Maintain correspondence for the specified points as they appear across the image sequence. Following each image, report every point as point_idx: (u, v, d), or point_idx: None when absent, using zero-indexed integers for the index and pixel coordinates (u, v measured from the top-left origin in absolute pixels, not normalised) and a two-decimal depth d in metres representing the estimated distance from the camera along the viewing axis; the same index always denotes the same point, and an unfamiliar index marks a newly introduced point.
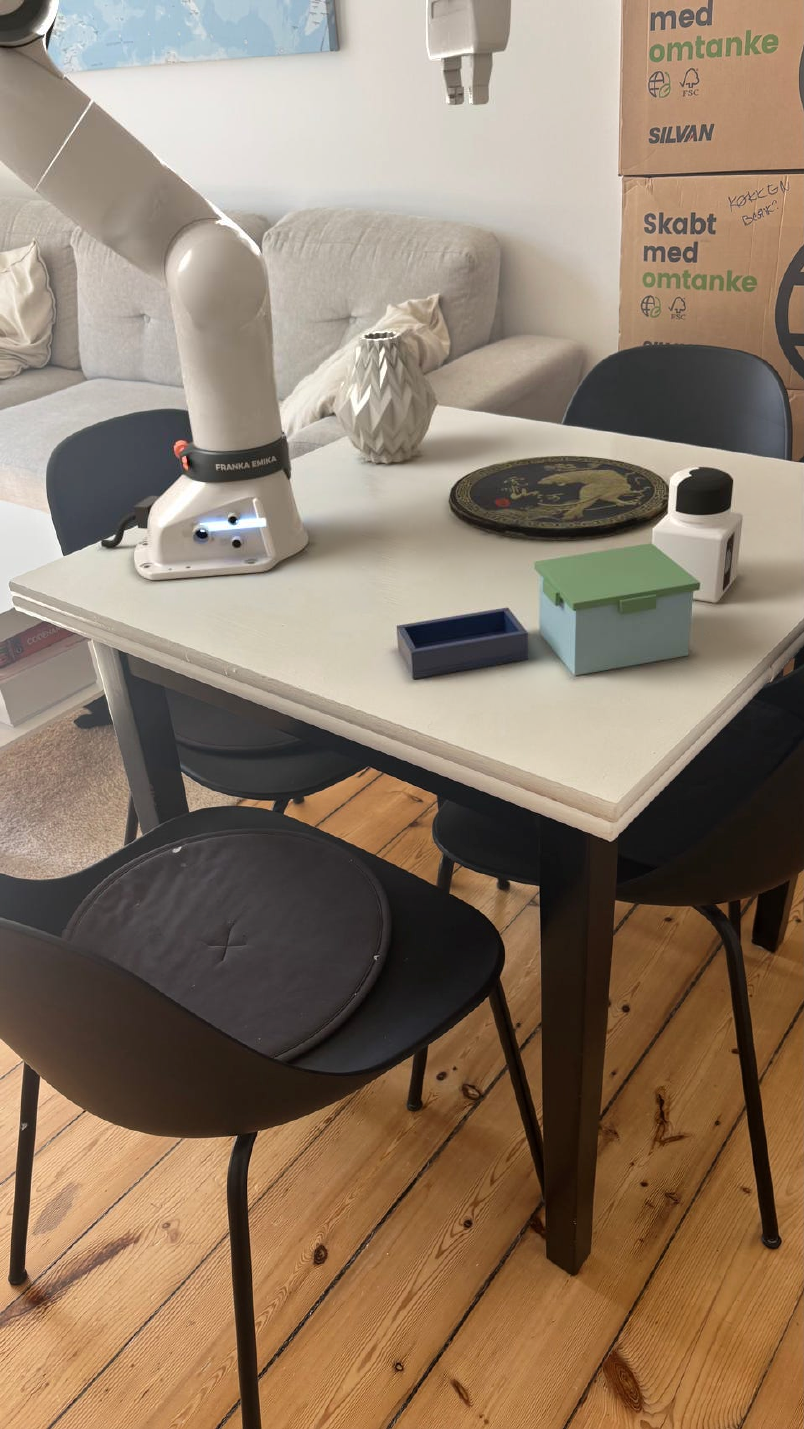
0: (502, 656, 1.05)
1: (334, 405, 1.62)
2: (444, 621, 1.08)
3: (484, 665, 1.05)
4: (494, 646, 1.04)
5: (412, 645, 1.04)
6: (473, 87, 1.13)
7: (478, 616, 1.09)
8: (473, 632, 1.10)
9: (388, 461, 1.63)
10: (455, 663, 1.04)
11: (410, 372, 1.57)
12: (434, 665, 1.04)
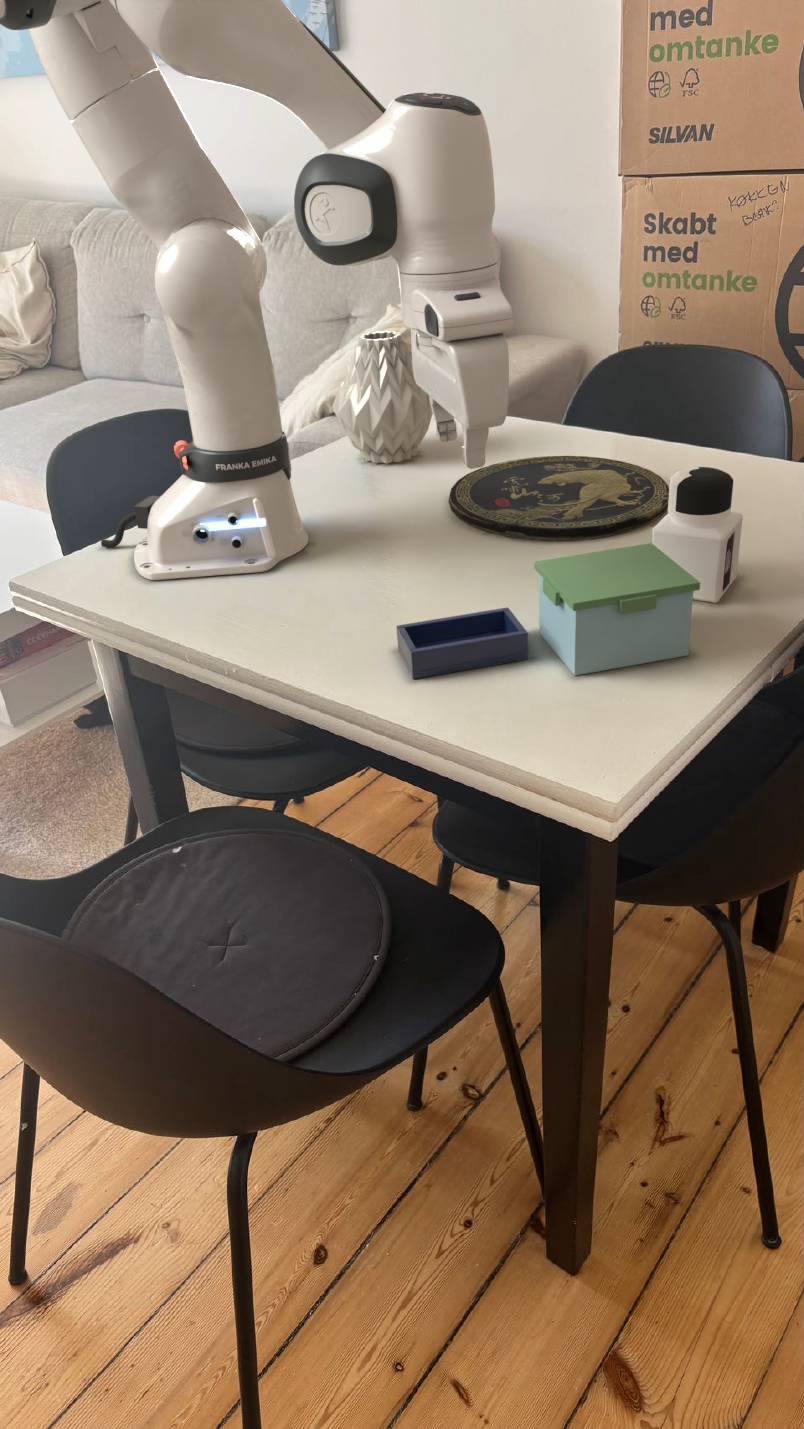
0: (502, 656, 1.05)
1: (334, 405, 1.62)
2: (444, 621, 1.08)
3: (484, 665, 1.05)
4: (494, 646, 1.04)
5: (412, 645, 1.04)
6: (466, 451, 0.96)
7: (478, 616, 1.09)
8: (473, 632, 1.10)
9: (388, 461, 1.63)
10: (455, 663, 1.04)
11: (410, 372, 1.57)
12: (434, 665, 1.04)
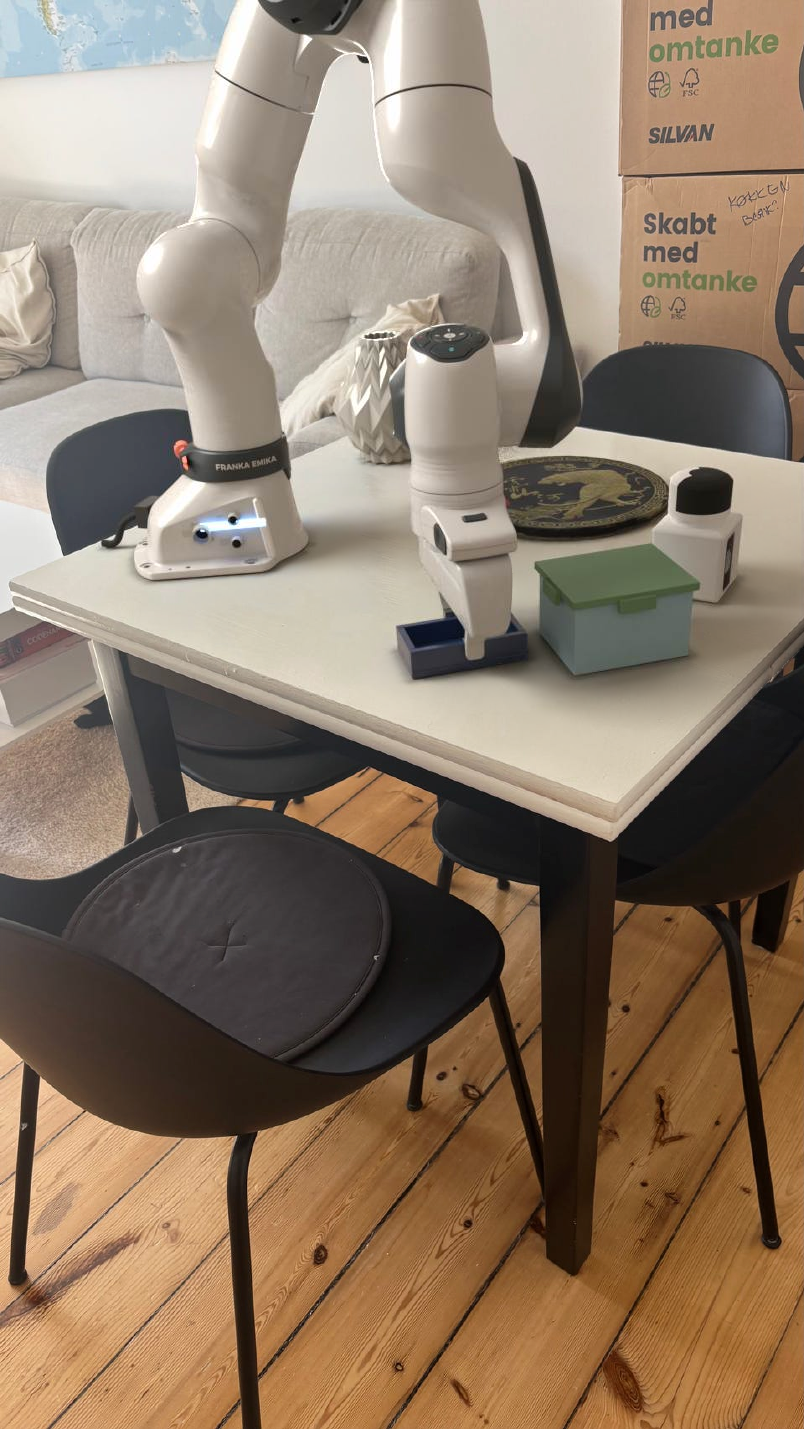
0: (502, 656, 1.05)
1: (334, 405, 1.62)
2: (444, 621, 1.08)
3: (483, 665, 1.05)
4: (493, 646, 1.04)
5: (411, 645, 1.04)
6: (467, 645, 1.02)
7: None
8: None
9: (388, 461, 1.63)
10: (454, 663, 1.04)
11: None
12: (433, 665, 1.04)
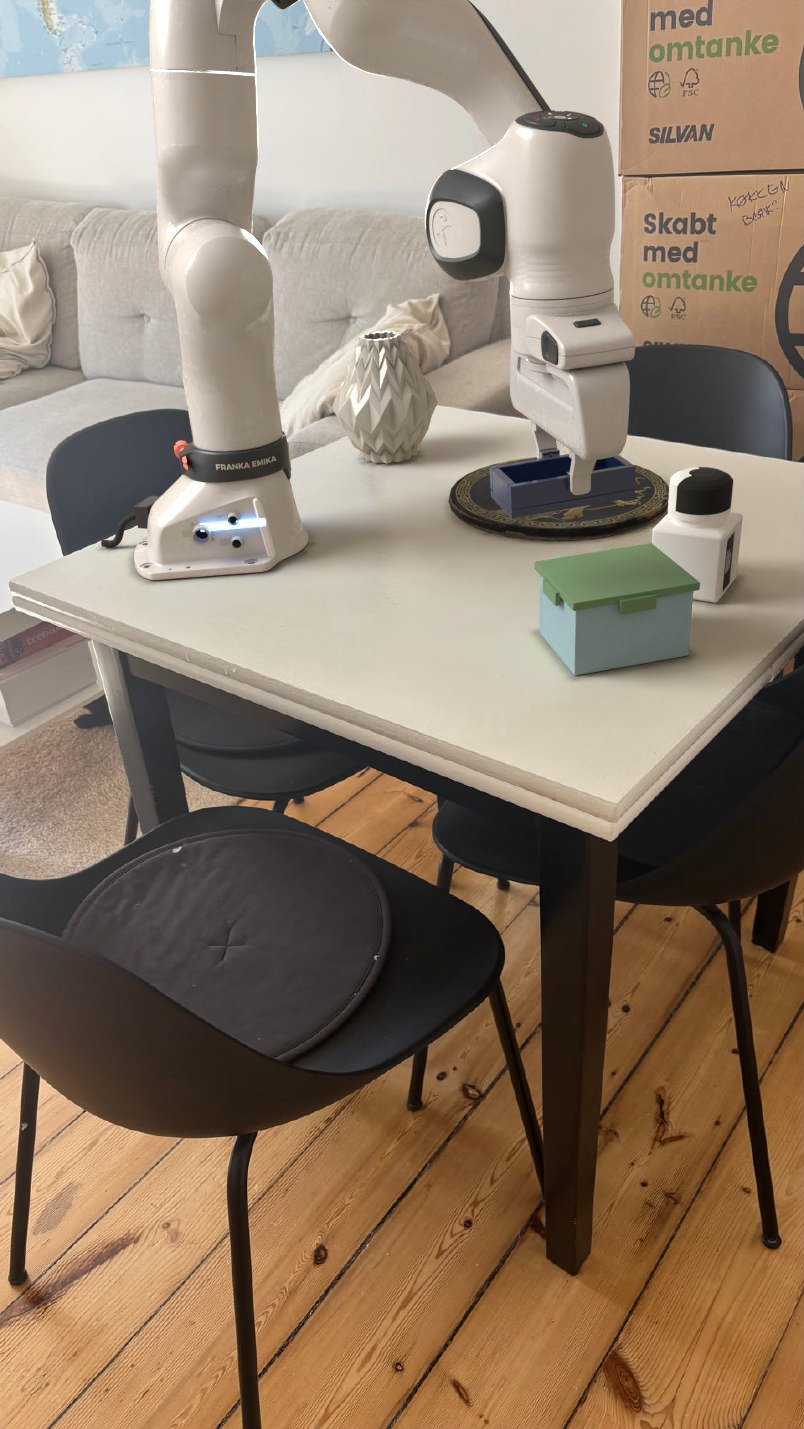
0: (607, 493, 0.97)
1: (334, 405, 1.62)
2: (541, 461, 1.00)
3: (588, 503, 0.97)
4: (599, 481, 0.96)
5: (510, 481, 0.96)
6: (573, 478, 0.94)
7: None
8: None
9: (388, 461, 1.63)
10: (557, 500, 0.96)
11: (410, 372, 1.57)
12: (535, 502, 0.96)
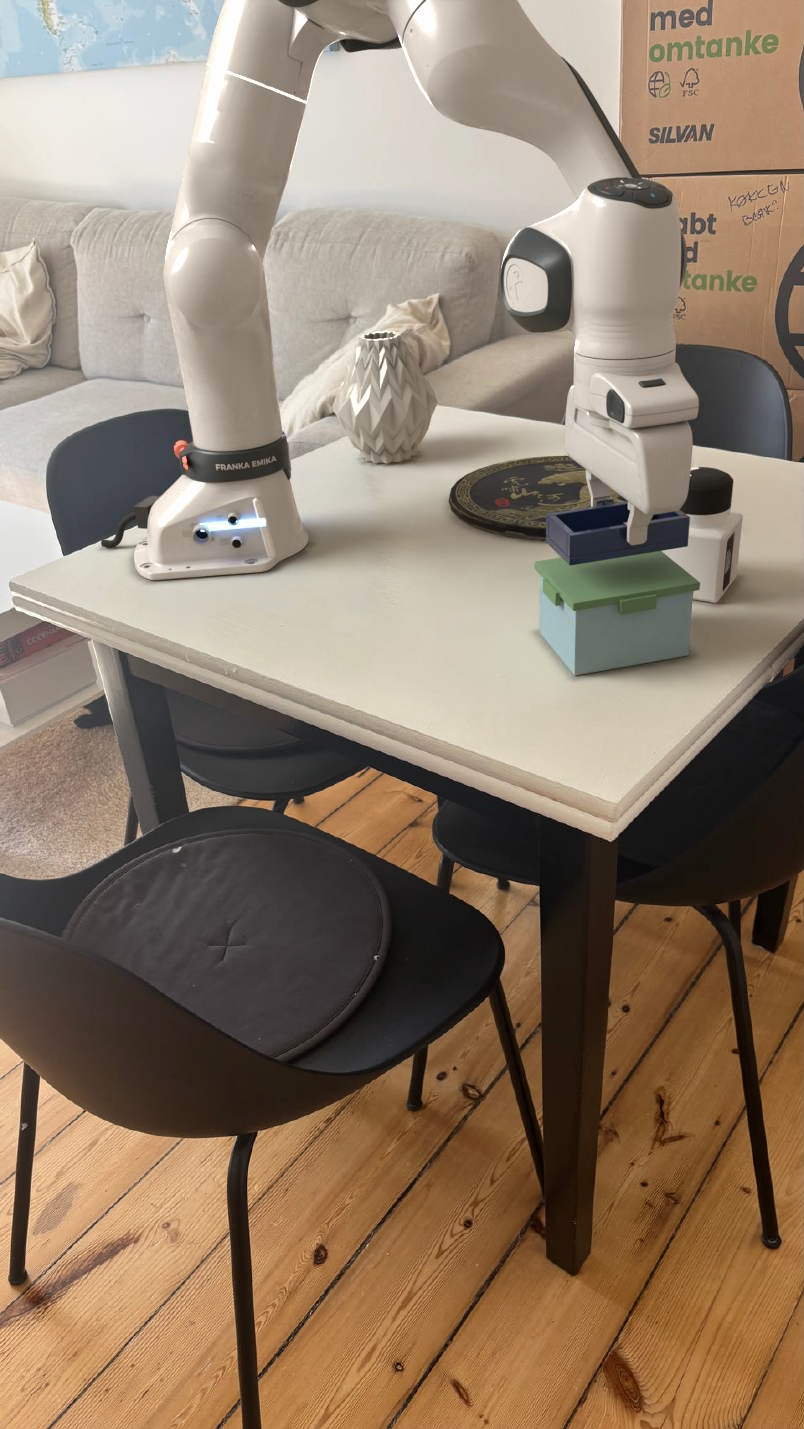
0: (662, 542, 1.00)
1: (334, 405, 1.62)
2: (596, 509, 1.03)
3: (643, 552, 1.00)
4: (654, 531, 0.99)
5: (569, 529, 0.98)
6: (630, 528, 0.97)
7: None
8: (624, 522, 1.04)
9: (388, 461, 1.63)
10: (613, 549, 0.99)
11: (410, 372, 1.57)
12: (592, 550, 0.98)
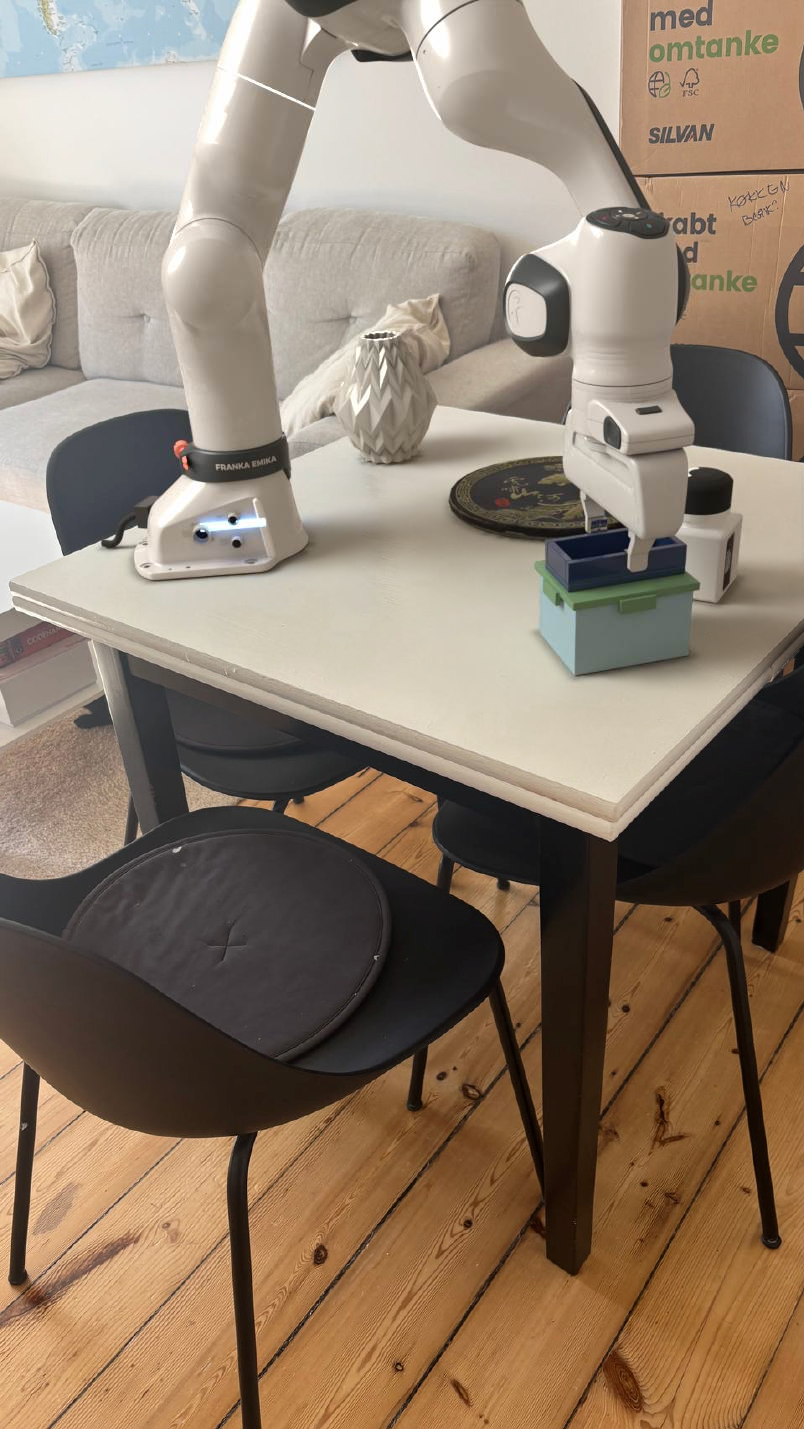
0: (659, 569, 1.01)
1: (334, 405, 1.62)
2: (594, 536, 1.04)
3: (640, 579, 1.01)
4: (652, 558, 1.00)
5: (568, 557, 1.00)
6: (631, 556, 0.97)
7: None
8: (622, 548, 1.06)
9: (388, 461, 1.63)
10: (611, 576, 1.00)
11: (410, 372, 1.57)
12: (590, 578, 1.00)
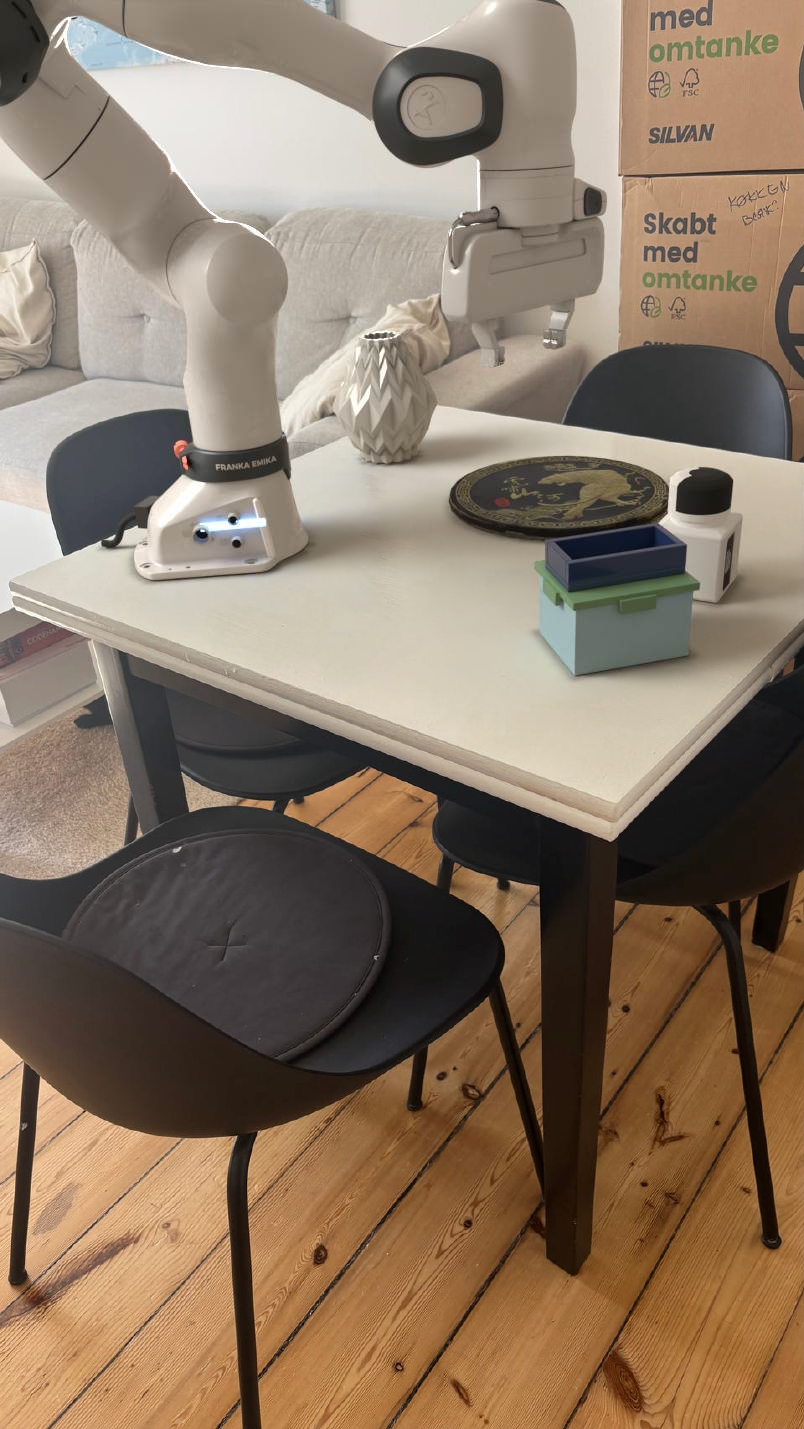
0: (659, 569, 1.01)
1: (334, 405, 1.62)
2: (594, 536, 1.04)
3: (640, 579, 1.01)
4: (652, 558, 1.00)
5: (568, 557, 1.00)
6: (565, 330, 1.06)
7: (629, 531, 1.05)
8: (622, 548, 1.06)
9: (388, 461, 1.63)
10: (611, 576, 1.00)
11: (410, 372, 1.57)
12: (590, 578, 1.00)
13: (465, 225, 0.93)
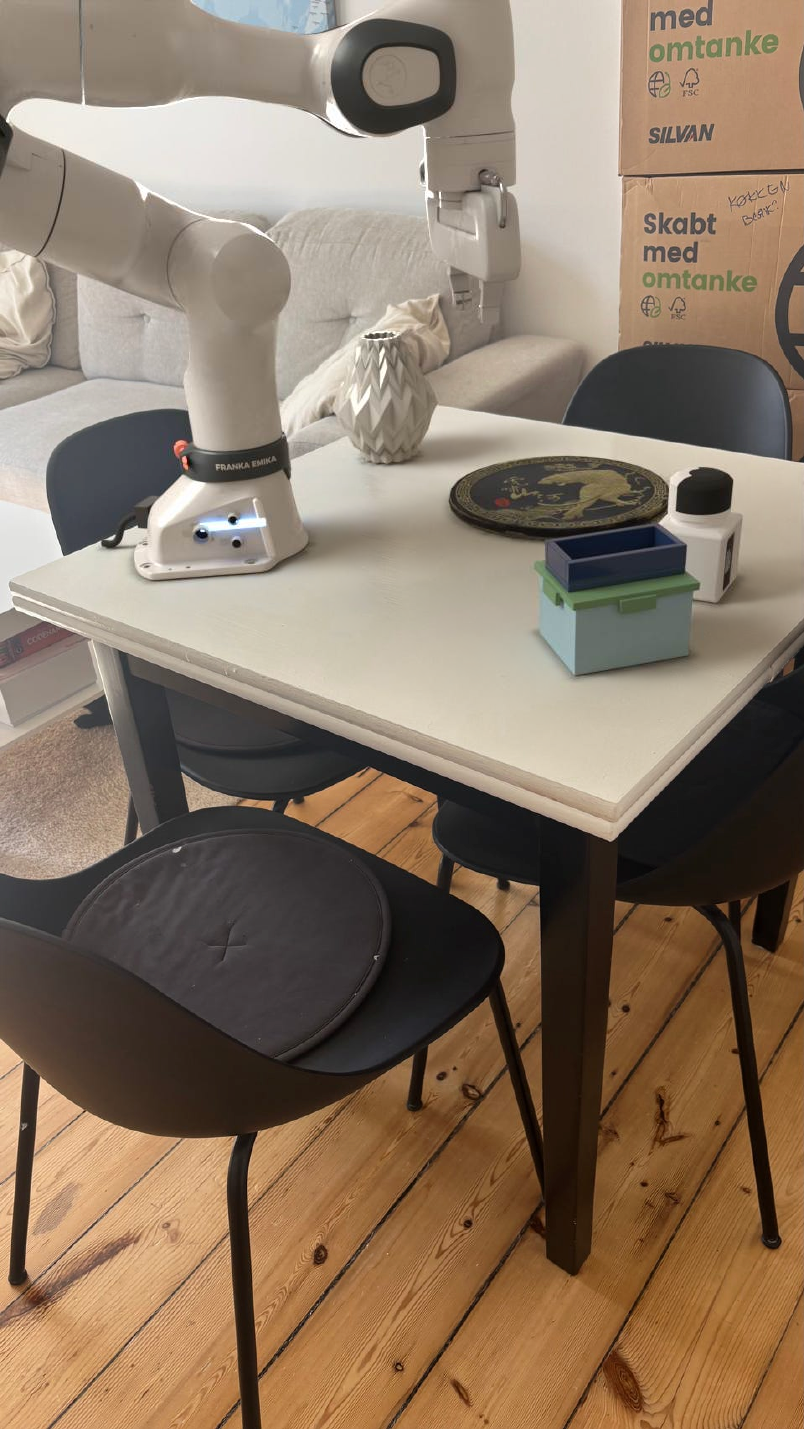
0: (659, 569, 1.01)
1: (334, 405, 1.62)
2: (594, 536, 1.04)
3: (640, 579, 1.01)
4: (652, 558, 1.00)
5: (568, 557, 1.00)
6: None
7: (629, 531, 1.05)
8: (622, 548, 1.06)
9: (388, 461, 1.63)
10: (611, 576, 1.00)
11: (410, 372, 1.57)
12: (590, 578, 1.00)
13: (500, 185, 0.96)
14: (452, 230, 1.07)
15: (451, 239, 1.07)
